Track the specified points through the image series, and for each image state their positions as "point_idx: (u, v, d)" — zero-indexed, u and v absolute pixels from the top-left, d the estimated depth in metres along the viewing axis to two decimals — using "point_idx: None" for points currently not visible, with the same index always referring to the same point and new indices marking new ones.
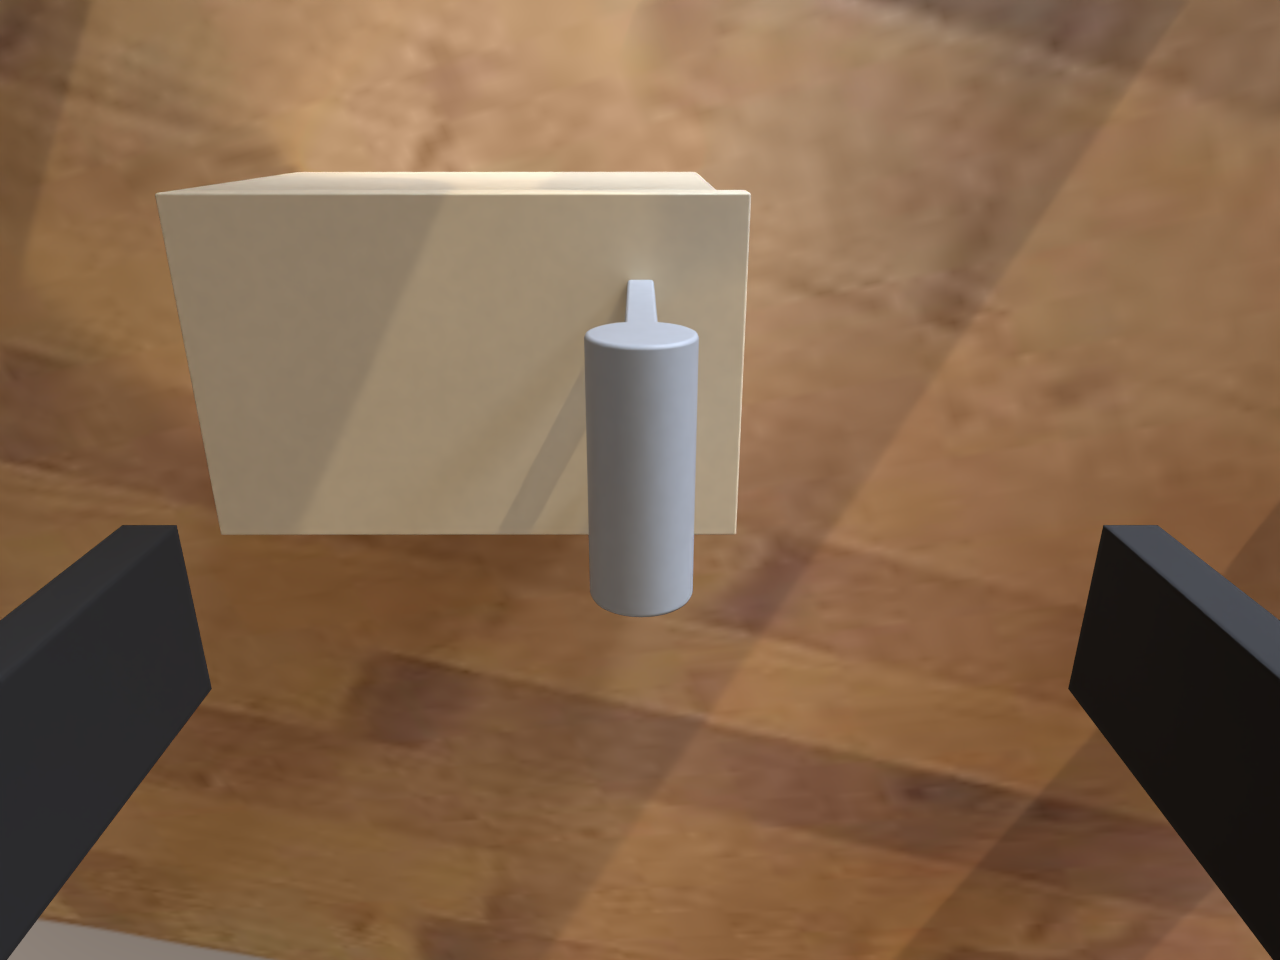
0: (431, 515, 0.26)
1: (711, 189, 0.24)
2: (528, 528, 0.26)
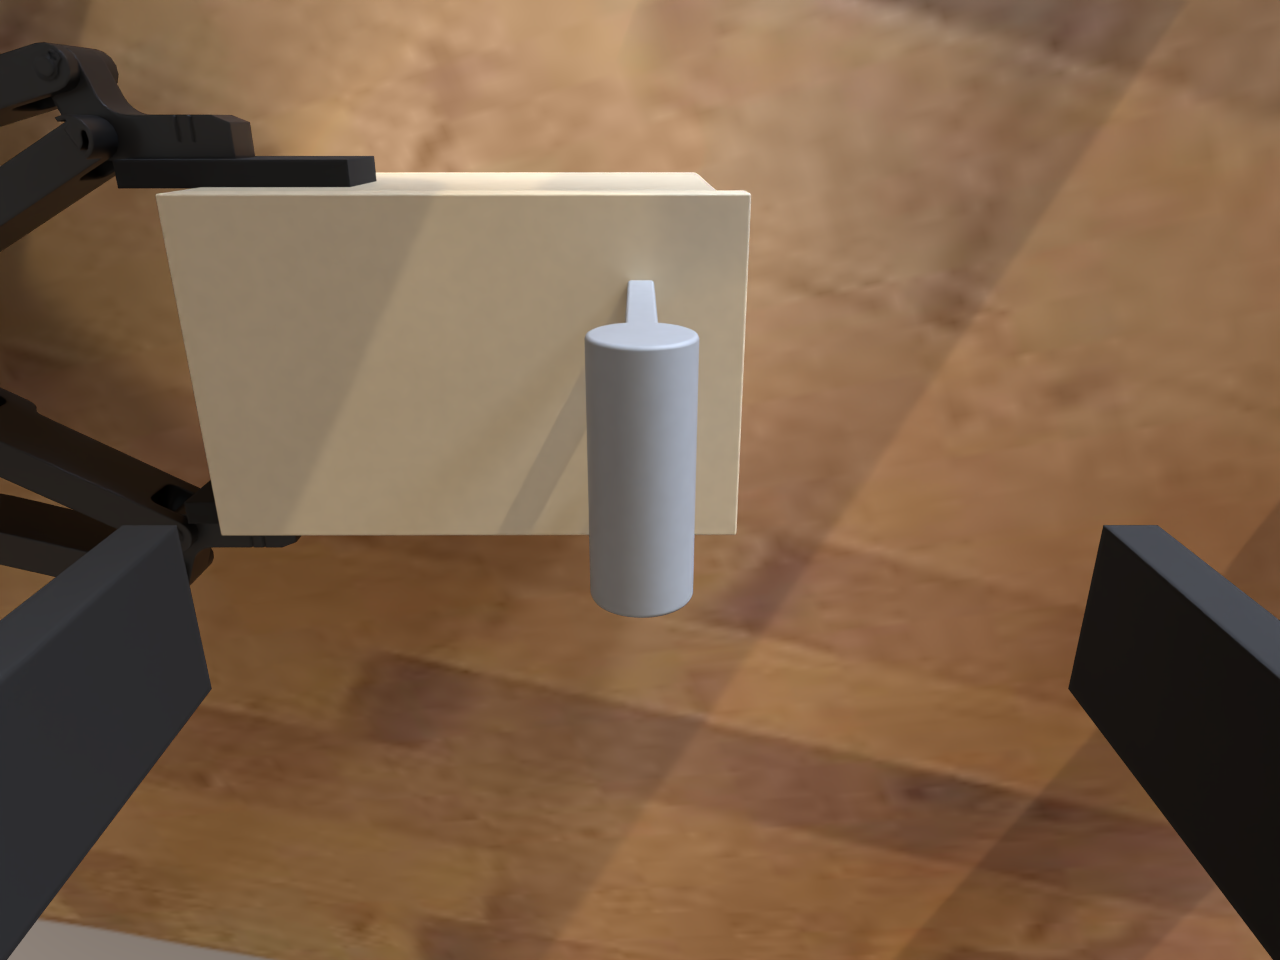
0: (431, 516, 0.26)
1: (711, 190, 0.24)
2: (528, 529, 0.26)
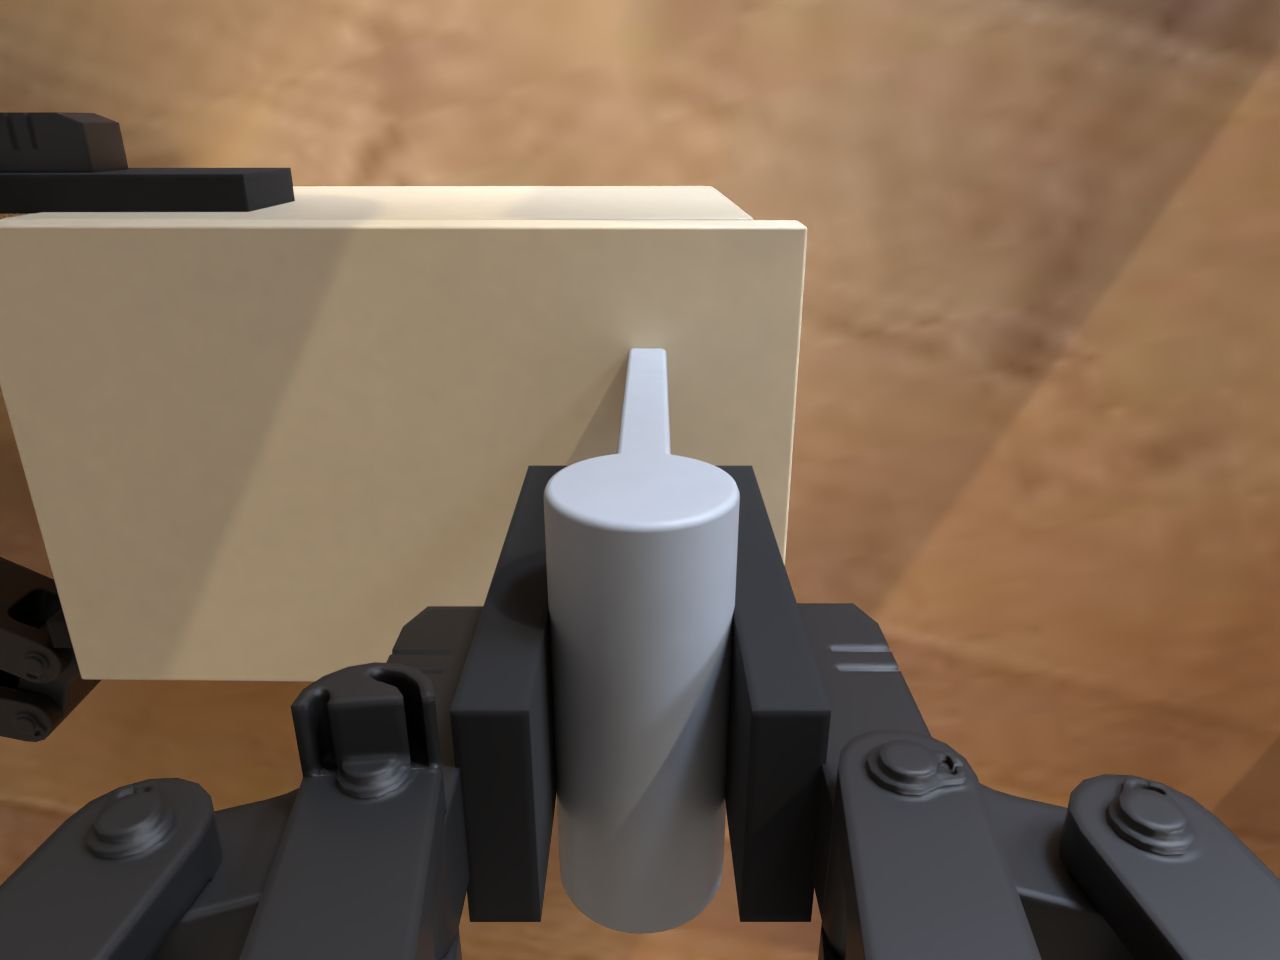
0: (362, 658, 0.19)
1: (745, 217, 0.17)
2: None
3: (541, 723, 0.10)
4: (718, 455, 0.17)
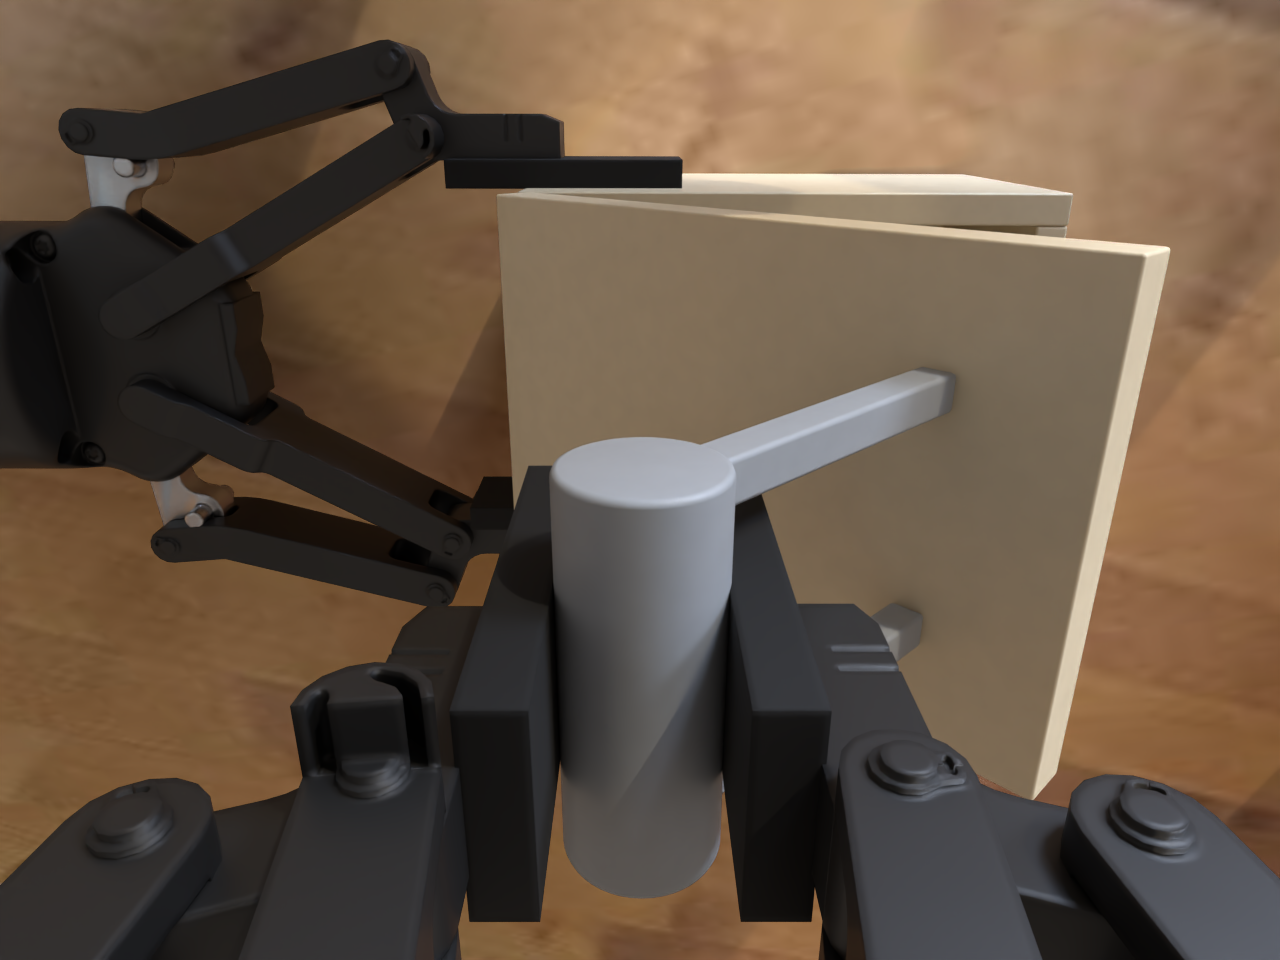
0: None
1: (1067, 193, 0.23)
2: None
3: (540, 723, 0.10)
4: (1000, 508, 0.15)
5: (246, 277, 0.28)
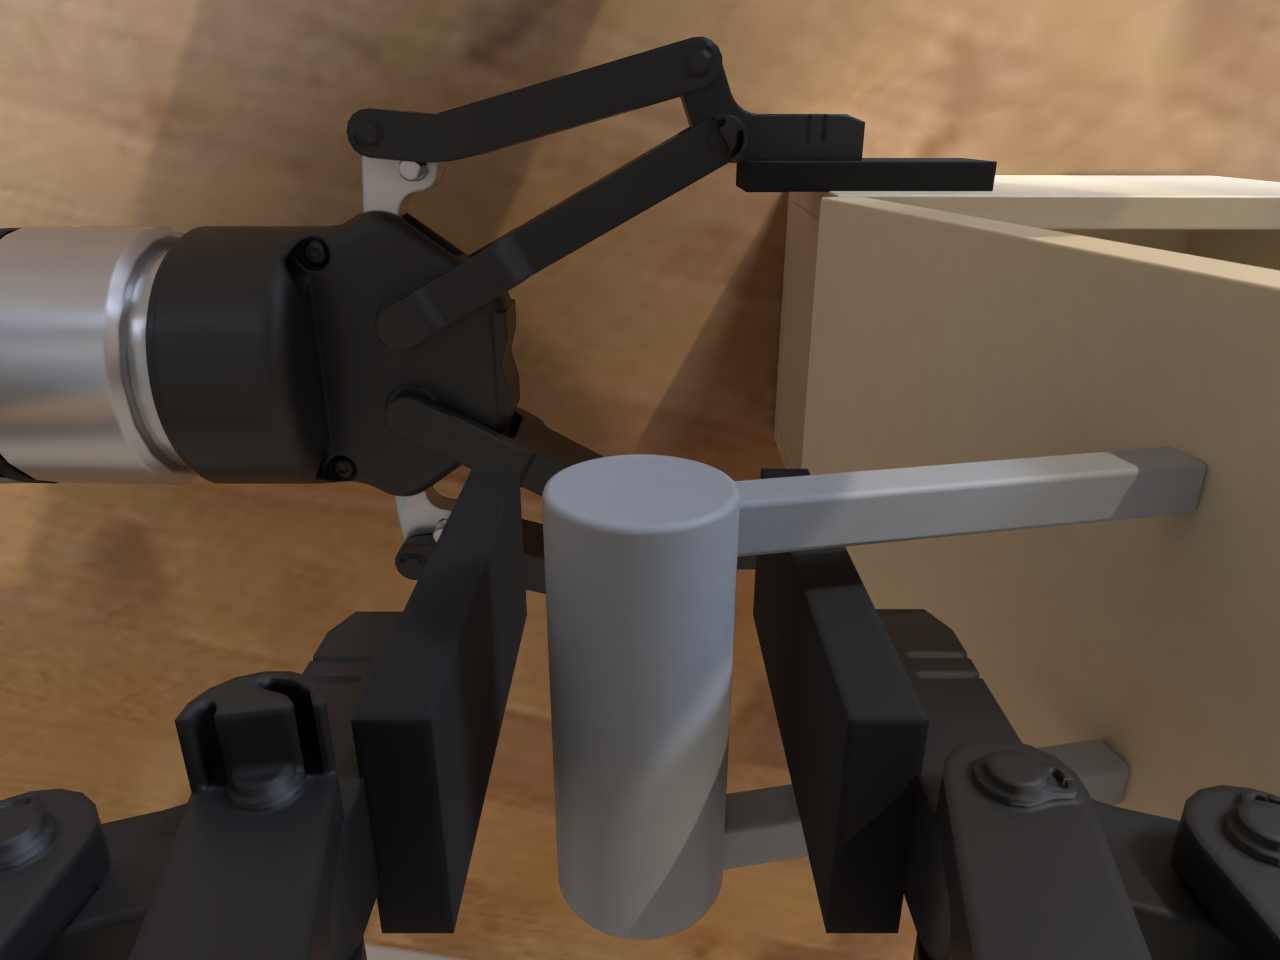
0: None
1: None
2: None
3: (455, 732, 0.09)
4: (1238, 658, 0.11)
5: None
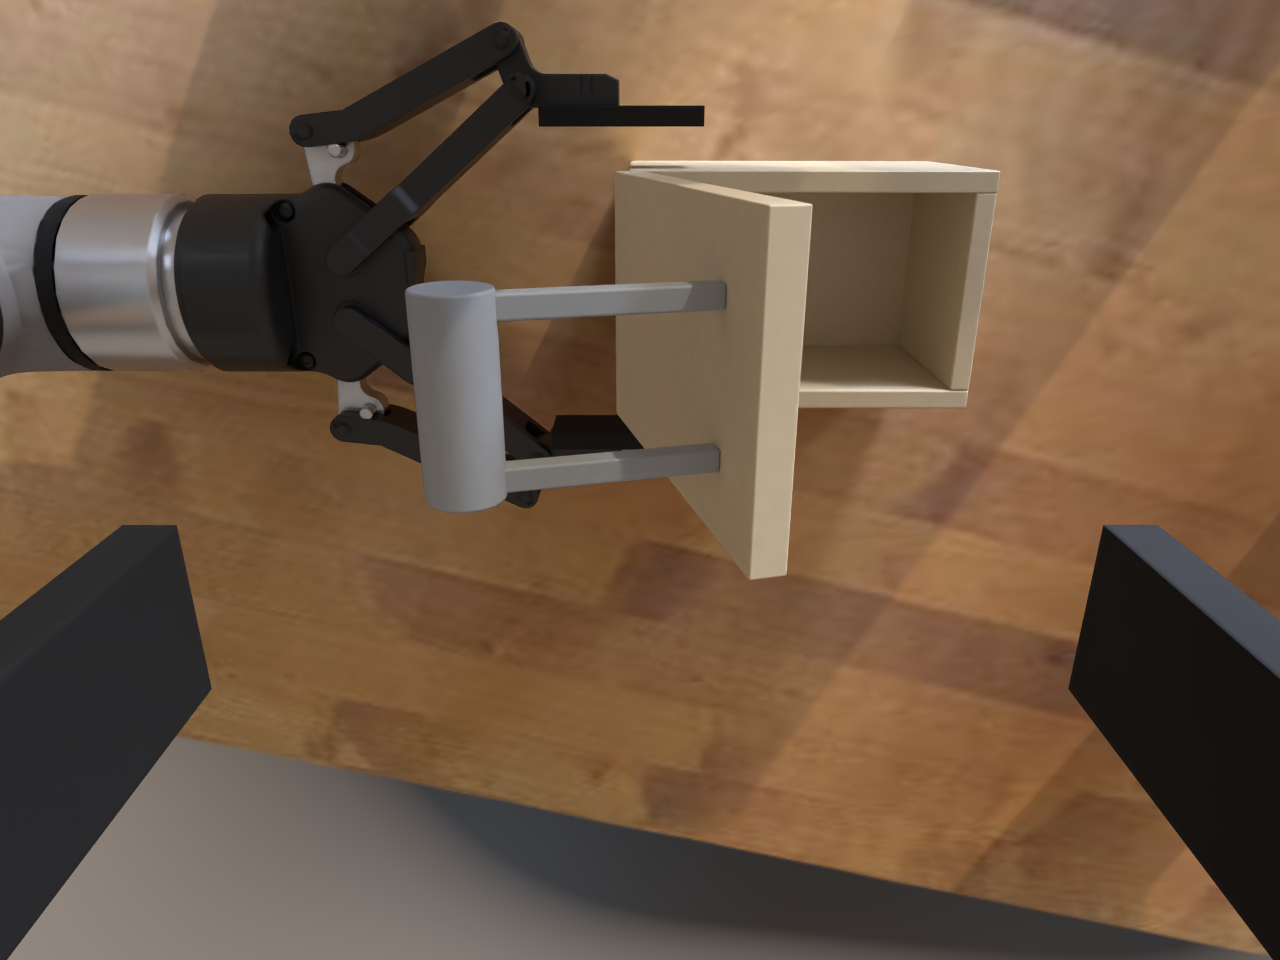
0: (657, 448, 0.32)
1: None
2: (681, 489, 0.29)
3: None
4: (738, 373, 0.23)
5: (409, 224, 0.39)
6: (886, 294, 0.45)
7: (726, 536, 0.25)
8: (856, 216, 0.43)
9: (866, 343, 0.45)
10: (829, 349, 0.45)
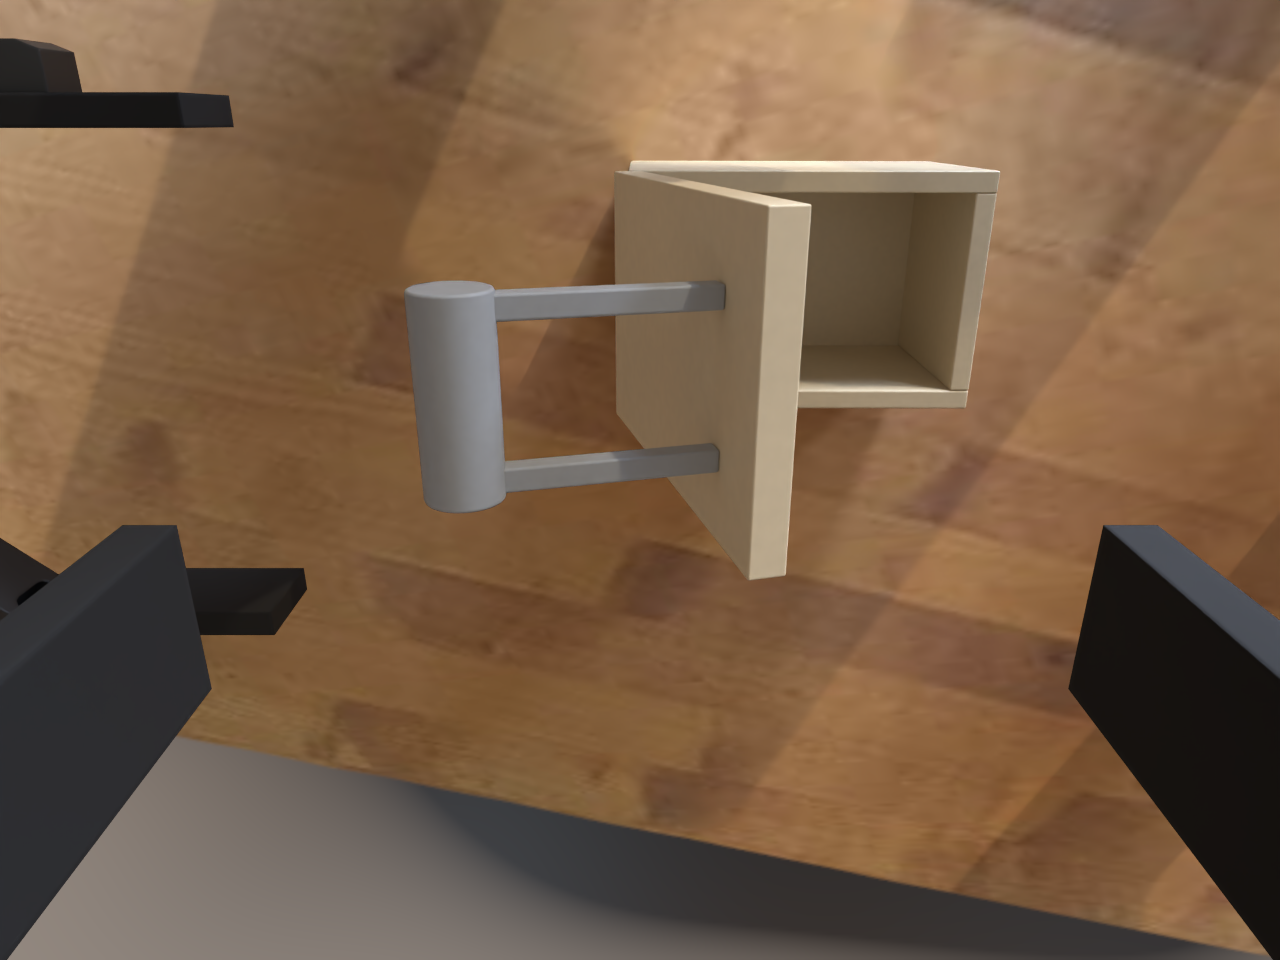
0: None
1: None
2: (680, 489, 0.29)
3: None
4: (737, 373, 0.23)
5: None
6: (886, 294, 0.45)
7: (725, 536, 0.25)
8: (856, 216, 0.43)
9: (866, 343, 0.45)
10: (829, 349, 0.45)
